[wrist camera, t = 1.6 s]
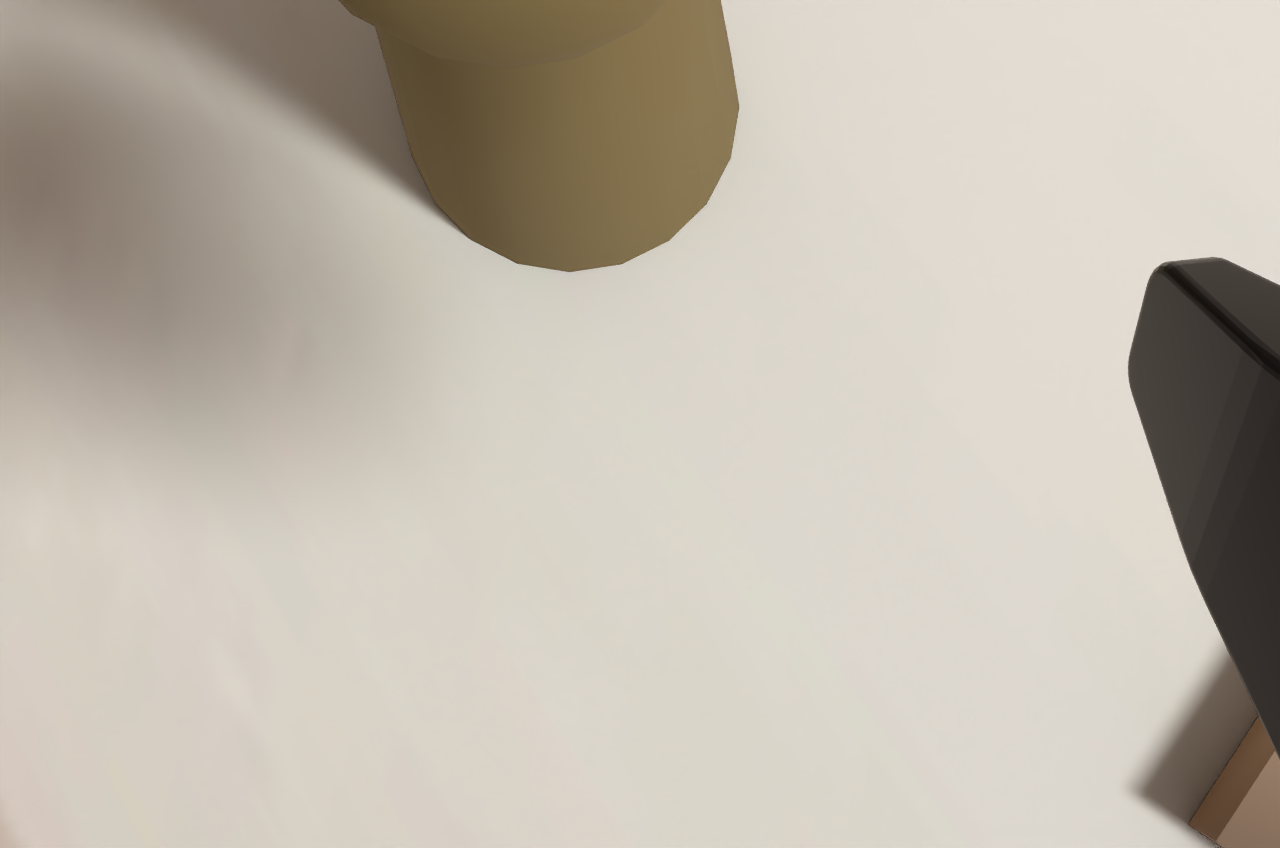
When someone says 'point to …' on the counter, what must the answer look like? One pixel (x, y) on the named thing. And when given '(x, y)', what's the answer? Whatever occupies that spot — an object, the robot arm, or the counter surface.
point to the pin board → (1245, 797)
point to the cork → (562, 118)
